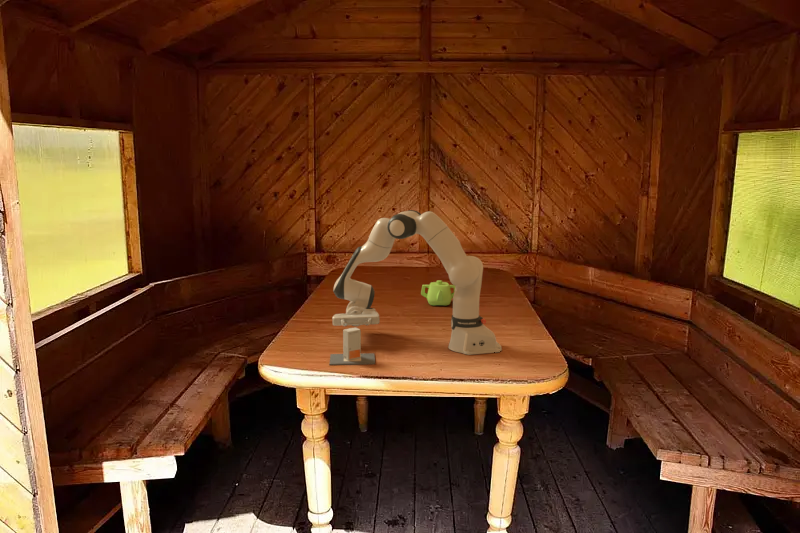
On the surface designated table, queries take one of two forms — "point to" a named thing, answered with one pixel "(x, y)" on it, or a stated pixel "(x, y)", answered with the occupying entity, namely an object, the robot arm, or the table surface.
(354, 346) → the skincare box
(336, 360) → the rubber mat
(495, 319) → the table surface
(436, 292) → the teapot
